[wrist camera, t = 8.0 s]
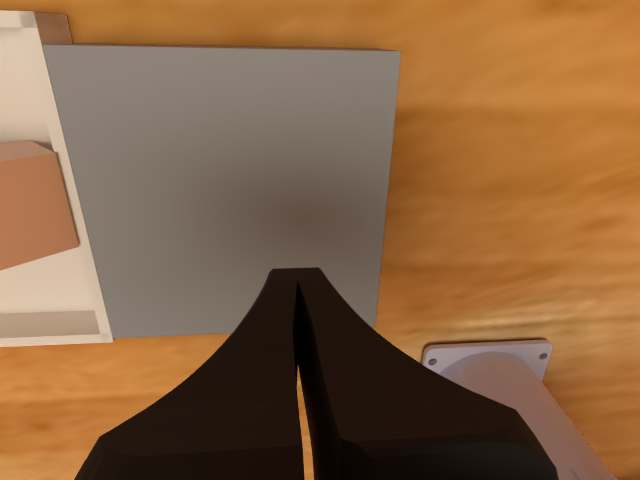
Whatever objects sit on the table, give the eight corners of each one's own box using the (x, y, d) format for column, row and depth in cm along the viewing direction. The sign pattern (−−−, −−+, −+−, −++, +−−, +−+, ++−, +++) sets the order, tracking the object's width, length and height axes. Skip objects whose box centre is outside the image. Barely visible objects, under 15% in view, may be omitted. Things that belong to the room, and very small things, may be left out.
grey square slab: (361, 287, 23) (375, 327, 20) (136, 295, 22) (113, 338, 19) (379, 48, 18) (401, 51, 15) (85, 43, 17) (42, 44, 14)
